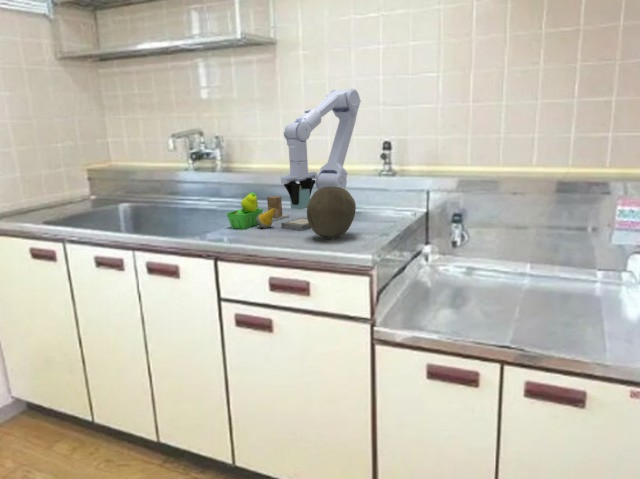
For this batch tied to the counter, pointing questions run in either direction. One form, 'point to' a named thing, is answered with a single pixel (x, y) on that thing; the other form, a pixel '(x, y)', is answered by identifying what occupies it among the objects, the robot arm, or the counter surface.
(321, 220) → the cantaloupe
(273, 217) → the track
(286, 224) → the press bed
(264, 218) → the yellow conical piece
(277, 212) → the brown tall block
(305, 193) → the block
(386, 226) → the counter surface
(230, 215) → the fruit basket
